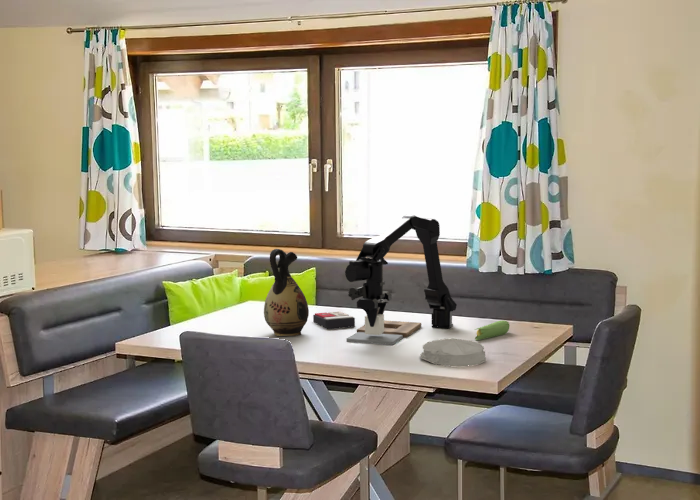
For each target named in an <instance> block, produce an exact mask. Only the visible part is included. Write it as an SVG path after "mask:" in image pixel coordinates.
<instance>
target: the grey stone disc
mask: <svg viewBox="0 0 700 500" xmlns="http://www.w3.org/2000/svg"><path fill="white" fill-rule="evenodd" d="M422 350H423V352H421V353H420V355H419V358H420V359H421V360H425V361H427V362H429V363H432V364H434V365H435V364H436V365H437V364H441V365H440V366H446V365H450V367H451V366H465V367H473V366H472V365H474V366H477V365H478V364H479V365H481V364H483V363H486V362H487V358H486V350H485V347H484V345H482V344H481V343H480V342H477V341H474V340H469V339H462V338H456V337H455V338H453V337H452V338H440V339H434V340H430V341H428V342H426V343H424V344H423V345H422ZM468 365H469V366H468ZM479 365H478V366H479Z"/></svg>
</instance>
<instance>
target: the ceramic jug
mask: <svg viewBox="0 0 700 500" xmlns="http://www.w3.org/2000/svg"><path fill="white" fill-rule="evenodd" d="M277 256H278V257H279V259H278V262H277ZM297 259H298V256H297V254H296V253H295V252H293V251H290V252H287V253H286V251H284V250H282V249H280V248H274V249H272V250H271V251H270V253H269V264H270V267H271V270H272V274H273V276H274V282H273V284H272V285H271V287H270V289H269V291H268V292H267V296H266V297H265V300H264V305H263V306H264V307H263V316H264V320H265V323H266V324H267V326H269V328H271V330H272V331H273V334H274V335H275V336H277V337H296V336H300V335H302V330H303V329H304V326H305V325H306V324H307V322H308V318H309V314H310V313H309V312H310V311H309V305H308V301H307V299H306V298H307V297H306V295H305V294H304V293H303V291H302V289H301V288H300V285H298V283H297V282H296V280H295V279H294V278H293V277H292V275H291V273H290V270H289V267H290V266H291V264H293V263H294V262H295V261H297Z"/></svg>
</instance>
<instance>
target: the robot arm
mask: <svg viewBox="0 0 700 500" xmlns="http://www.w3.org/2000/svg"><path fill="white" fill-rule="evenodd" d="M440 228H441V227H440V223H439V221H438V220H437V219H435V218H425V217H419V216H416V215H414V214H413V215H412V214H405V215H403V216H402V217H401V219H400V220H399V221H397V222H396V223H394V224H393V225H392V226H391V227H389V229H387V230H385V231H384V232H383V233H382V234H381V235H378V236H375V237H372V238H370V239H368V240H366V241H365V242H364V243H363V245H362V248H361V250H360V251H359V254H358V255H357V258H356V259H355V260H349V261H348V265H347V266H346V269H345V271H344V274H345V278H346V280H347V281H348V282H349V283H355V282H356V283H357V282H360V281H365V282H363V284H362V286H360V287H356V286H353V287H350V288H349V291H348V295H347V296H348V297H349V298H350V299H351V301H354V300H356V299H358V298H359V299H358V300H357V301H356V308H357V309H361V310H363V311H364V312H365V313H366V315H367V317H368V320H369V324H370V327H374V324H375V321H376V318H377V315H378V314H384V313H385V310H386V308H387V305H388V304H389V302H390V301H392V293H391V292H390V291H389V290H388V291H387V290H386V291H385V290H384V285H385V284H386V281H385V280H384V265H388V263H389V262H388V261H387V260H385V256H386V255H388V253H389V252H390V249H391V247H392V246H393V244H395V243H396V242H397V241H399V240H400V239H401V238H402V237H403V236H404V235H406V234H407V233H408V232H410V231H411V230H414V232H415V234H416V237H417V239H418V240H419V242H420V243H421V245H422V248H423V254H424V259H425V266H426V273H427V277H428V278H427V279H428V285H427V286H426V288H424V290H423V292H424V297H425V298H424V300H426V302H427V304H428V306H429V309H432V313H431V327H432V328H435V329H437V328H438V329H439V328H441V329H450V328H452V327H453V326H454V323H453V311H456V309H457V303H456V302H455V300H454V299H453V298H452V296H451V292H450V290H449V287H448V285H446V283H445V282H444V280H443V273H442V267H441V259H440V254H439V249H438V247H439V246H438V241H439V237H440V234H441V233H440V231H441V230H440ZM385 300H387V301H385Z"/></svg>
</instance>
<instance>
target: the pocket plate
mask: <svg viewBox="0 0 700 500" xmlns="http://www.w3.org/2000/svg"><path fill="white" fill-rule="evenodd" d="M421 328H422V322H413V321H412V322H411V321H401V320H400V321H397V320H385V319H384V332H383V333H382V334H394V335H403V338H408V337H409V336H411V335H413V333H415V332H416V331H418V330H419V329H421ZM357 332H365V324H364V325H362V326H360V327H358V328H357V329H356V333H357Z"/></svg>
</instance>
